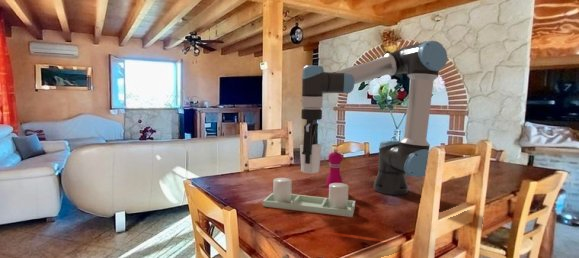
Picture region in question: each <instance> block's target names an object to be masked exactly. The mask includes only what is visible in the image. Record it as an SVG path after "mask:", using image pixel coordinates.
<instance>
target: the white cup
mask: <svg viewBox="0 0 579 258" xmlns="http://www.w3.org/2000/svg"><path fill="white" fill-rule="evenodd" d="M302 152H303V143H301V144H300V145H299V154H300V171H301V173H303V174H317V173H319V172H320V165H321V154H322V144H319V143H318V144H314V145H312V152H311V153H312V172H311V173H309V172H304V154H302Z"/></svg>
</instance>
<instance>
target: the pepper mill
mask: <svg viewBox="0 0 579 258" xmlns="http://www.w3.org/2000/svg"><path fill="white" fill-rule="evenodd" d="M327 158H328V161H329V163H328V164H329V174H328V176H327V179H326V183H325V186H326V187H327V189H326V192H327V193H328V194H329V184H331V183H343V179H342V176H341V170H340V169H341V167H342V166H341V165H342V164H341V163H342V161H343V155H342V153H340V152H338V148H334V149H333V151H332V152H330V153H329V155H328V157H327ZM343 184H344V183H343Z"/></svg>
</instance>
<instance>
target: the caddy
mask: <svg viewBox="0 0 579 258" xmlns="http://www.w3.org/2000/svg"><path fill="white" fill-rule="evenodd" d="M328 206H329V197H322V196H315V195H313V196H312V195H304V194H303V195H302V194H295V193H291V203H283V202H275V201H273V192H271V193H270V194H269V195H268V196H267V197H265V198H264V199H263V200H262V207H267V208H276V209H282V210H283V209H284V210H291V211H299V212H300V211H301V212H307V213H316V214H324V215H333V216H341V217H347V218H348V217H350V218H353V216H354V214H355V213H354V212H355V209H356V208H355V207H356V200H351V199H350V200H349V199H348V210H344V209H335V208H328Z"/></svg>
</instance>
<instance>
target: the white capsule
mask: <svg viewBox="0 0 579 258" xmlns="http://www.w3.org/2000/svg"><path fill="white" fill-rule="evenodd" d="M292 182H293V181H292V178H286V177H277V178H274V179H273V182H272V183H273V184H272V185H273V187H272V188H273V189H272V190H273V201H275V202H283V203H291V194H292V184H293V183H292Z"/></svg>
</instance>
